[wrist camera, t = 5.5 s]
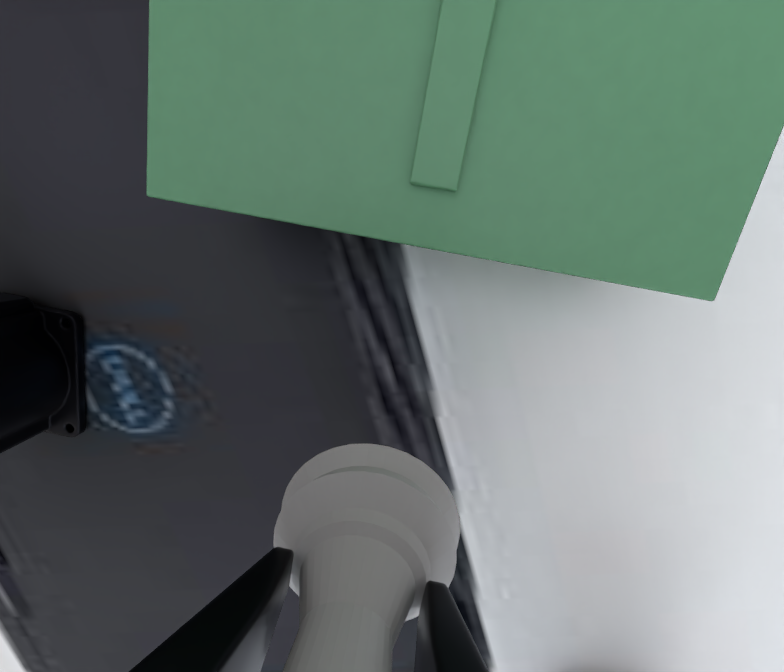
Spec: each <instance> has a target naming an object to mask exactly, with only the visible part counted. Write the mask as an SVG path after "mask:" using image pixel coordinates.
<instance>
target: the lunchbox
mask: <svg viewBox="0 0 784 672" xmlns="http://www.w3.org/2000/svg"><path fill="white" fill-rule="evenodd" d="M783 126H784V0H149V54H148V126H147V196H149V197H153V198H158V199H164V200H169V201H175V202H180V203H185V204H191V205H196V206H202V207H207V208H212V209H218V210H223V211H228V212H234V213H239V214H245V215H250V216H255V217H261V218H266V219H272V220H277V221H282V222H288V223H293V224H298V225H304V226H309V227H315V228H320V229H325V230H331V231H336V232H341V233H347V234H352V235H358V236H363V237H368V238H374V239H379V240H385V241H390V242H395V243H401V244H406V245H411V246H417V247H422V248H428V249H433V250H438V251H444V252H449V253H455V254H460V255H465V256H471V257H476V258H481V259H487V260H492V261H498V262H503V263H508V264H514V265H519V266H525V267H530V268H535V269H541V270H546V271H551V272H557V273H562V274H568V275H573V276H578V277H584V278H589V279H594V280H600V281H605V282H611V283H616V284H621V285H627V286H632V287H638V288H643V289H648V290H654V291H659V292H664V293H670V294H675V295H681V296H686V297H691V298H697V299H702V300H708V301H714V299H715V297H716V295H717V292H718V290H719V287H720V285H721V282H722V280H723V277H724V275H725V272H726V269H727V267H728V264H729V262H730V259H731V257H732V254H733V252H734V249H735V247H736V244H737V242H738V239H739V237H740V234H741V232H742V229H743V227H744V224H745V222H746V219H747V217H748V214H749V212H750V209H751V206H752V204H753V201H754V199H755V196H756V194H757V191H758V189H759V186H760V184H761V181H762V179H763V176H764V174H765V171H766V169H767V166H768V164H769V161H770V159H771V156H772V154H773V151H774V149H775V146H776V144H777V141H778V139H779V136H780V134H781V131H782V129H783Z"/></svg>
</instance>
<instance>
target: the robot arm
mask: <svg viewBox="0 0 784 672" xmlns="http://www.w3.org/2000/svg"><path fill="white" fill-rule="evenodd" d="M68 320H69V322H70V324H71V326H70V325H69V324H68ZM72 425H73V426H72ZM85 428H86V419H85V384H84V349H83V323H82V319H81V318H80V316H79V315H78V314H77V313H74V312H71V311H66V310H61V309H56V308H51V307H46V306H41V305H36V304H34V303H33V301H32V300H30V299H29V298H27V297H22V296H17V295H12V294H7V293H2V292H0V453H2V452H4V451H6V450H8V449H10V448H12V447H14V446H15V445H17V444H19V443H21V442H23V441H25V440H27V439H29V438H31V437H33V436H35V435H37V434H39V433H41V432H43V431H44V432H49V433H54V434H58V435H63V436H68V437H75V436H77V435H79V434H81V433H82V432H84V430H85ZM293 556H294V553H293V551H292V550H291V549H287V548H282V547H275V548H273V549H272V550H271V551H270V552H269V553H267V554H266V555H265V556H264V557H263V558H262V559H260V560H259V561H258V562H257V563H256V564H254V565H253V566H252V567H251V568H250V569H249V570H247V571H246V572H245V573H244V574H243V575H242V576H240V577H239V578H238V579H237V580H236V581H235V582H233V583H232V584H231V585H230V586H229V587H228V588H226V589H225V590H224V591H223V592H222V593H220V594H219V595H218V596H217V597H216V598H215V599H213V600H212V601H211V602H210V603H209V604H208V605H206V606H205V607H204V608H203V609H202V610H201V611H199V612H198V613H197V614H196V615H195V616H194V617H192V618H191V619H190V620H189V621H188V622H187V623H185V624H184V625H183V626H182V627H181V628H179V629H178V630H177V631H176V632H175V633H174V634H172V635H171V636H170V637H169V638H168V639H167V640H165V641H164V642H163V643H162V644H161V645H160V646H158V647H157V648H156V649H155V650H154V651H153V652H151V653H150V654H149V655H148V656H147V657H145V658H144V659H143V660H142V661H141V662H140V663H138V664H137V665H136V666H135V667H134V668H133V669H131V670H130V671H129V672H260V670H261V668H262V665H263V662H264V659H265V657H266V654H267V651H268V648H269V645H270V642H271V639H272V636H273V633H274V630H275V627H276V624H277V621H278V618H279V615H280V612H281V609H282V606H283V603H284V600H285V597H286V594H287V591H288V587H289V583H290V578H291V571H292V563H293ZM414 672H489V671H488V669H487V667H486V665H485V663H484V661H483V659H482V657H481V655H480V653H479V651H478V649H477V646H476V644H475V642H474V640H473V638H472V636H471V634H470V632H469V630H468V628H467V626H466V624H465V622H464V620H463V618H462V616H461V614H460V612H459V610H458V607H457V605H456V603H455V601H454V599H453V597H452V595H451V593H450V591H449V589H448V587H447V586H446V585H445V584H444V583H440V582H436V581H431V580H430V581H428V582H427V583H426V586H425V590H424V594H423V598H422V602H421V606H420V610H419V617H418V628H417V641H416V654H415V667H414Z"/></svg>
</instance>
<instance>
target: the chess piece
mask: <svg viewBox="0 0 784 672" xmlns="http://www.w3.org/2000/svg"><path fill="white" fill-rule="evenodd" d="M459 536H460V517H459V513H458V509H457V506H456V502H455V500H454V498H453V496H452V494H451V492H450V490H449V488H448V487H447V485H446V484H445V483H444V482H443V481H442V479H441V478H440V477H439V476H438V474H437V473H436V472H434V471H433V470H432V469H431V468H430V467H428V466H427V465H426V464H425V463H423V462H422V461H420V460H419V459H417V458H415V457H413V456H411V455H410V454H408V453H406V452H403V451H400V450H397V449H394V448H391V447H388V446H382V445H375V444H349V445H344V446H340V447H335V448H332V449H330V450H327V451H325V452H323V453H320V454H318V455H316V456H315V457H314V458H312V459H311V460H309V461H308V462H306V463H305V464H304V465H303V466H302V467H301V468H300V469H299V470H298V471H297V472H296V473H295V475H294V476H293V478H292V479H291V481H290V483H289V485H288V486H287V488H286V491H285V494H284V498H283V501H282V511H281V512H280V514H279V516H278V519H277V522H276V526H275V529H274V544H273V545H274V548H275V547H282V548H287V549H291V550H292V551H293V553H294V556H293V563H292V571H291V578H290V583H289V586H290V587H291V588H292V589H293V590H294V592H295V593H296V594H297V595H298V596H299V630H298V633H297V636H296V638H295V641H294V643H293V646H292V648H291V651H290V654H289V656H288V659H287V661H286V664H285V666H284V669H283V671H282V672H392V651H393V647H394V645H395V642H396V640H397V638H398V636H399V633H400V631H401V629H402V626H403V624H404V622H405V621H407V620H410V619H413V618H415V617H417V616H418V615H419V610H420V606H421V602H422V598H423V594H424V590H425V586H426V583H427V582H428V581H430V580H431V581H436V582H440V583H444V584H445V585H446V586H447V587H449V585H450V583H451V581H452V579H453V577H454V572H455V567H456V562H457V558H456V549H457V546H458V541H459Z"/></svg>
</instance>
